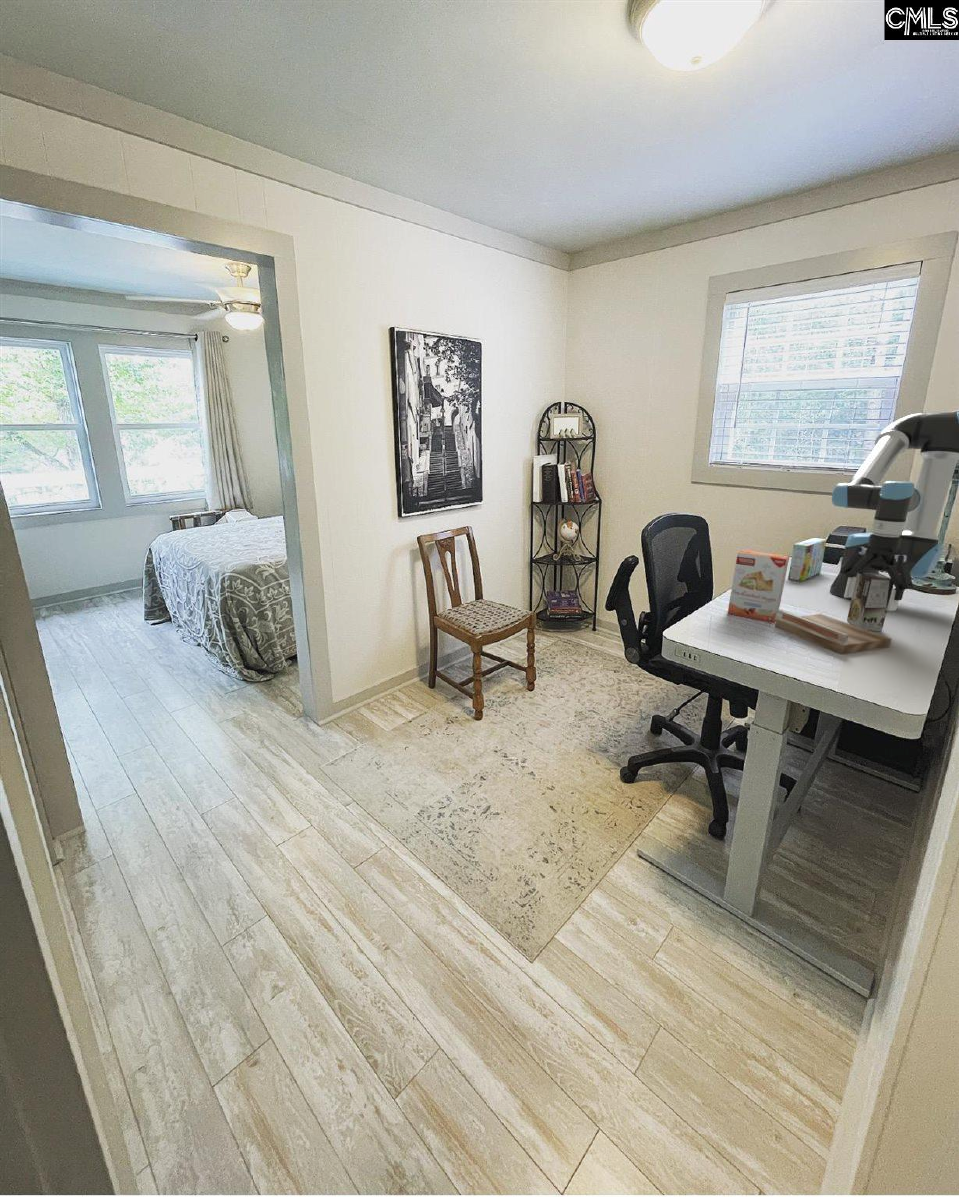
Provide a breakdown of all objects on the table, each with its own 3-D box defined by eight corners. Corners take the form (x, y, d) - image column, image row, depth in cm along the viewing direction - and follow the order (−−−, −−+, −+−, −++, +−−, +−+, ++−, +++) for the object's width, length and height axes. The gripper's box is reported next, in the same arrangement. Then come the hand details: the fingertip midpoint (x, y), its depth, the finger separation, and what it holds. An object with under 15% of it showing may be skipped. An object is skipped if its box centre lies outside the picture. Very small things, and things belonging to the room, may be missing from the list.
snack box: (806, 571, 230) (813, 537, 226) (820, 574, 226) (828, 539, 221) (786, 579, 217) (793, 543, 213) (801, 582, 213) (808, 545, 209)
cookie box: (883, 631, 159) (896, 580, 154) (859, 630, 160) (871, 578, 155) (868, 621, 167) (880, 572, 162) (845, 620, 168) (856, 571, 164)
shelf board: (819, 621, 167) (822, 604, 165) (889, 647, 147) (894, 628, 145) (774, 626, 162) (777, 610, 160) (840, 654, 142) (845, 635, 140)
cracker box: (726, 614, 173) (736, 551, 167) (731, 609, 177) (741, 548, 171) (774, 623, 165) (786, 558, 158) (777, 618, 169) (790, 555, 163)
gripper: (837, 528, 165) (823, 593, 171) (922, 543, 143) (902, 617, 149) (854, 527, 168) (840, 591, 174) (941, 542, 145) (920, 615, 151)
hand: (868, 603), depth 161 cm, fingers open, 13 cm apart
